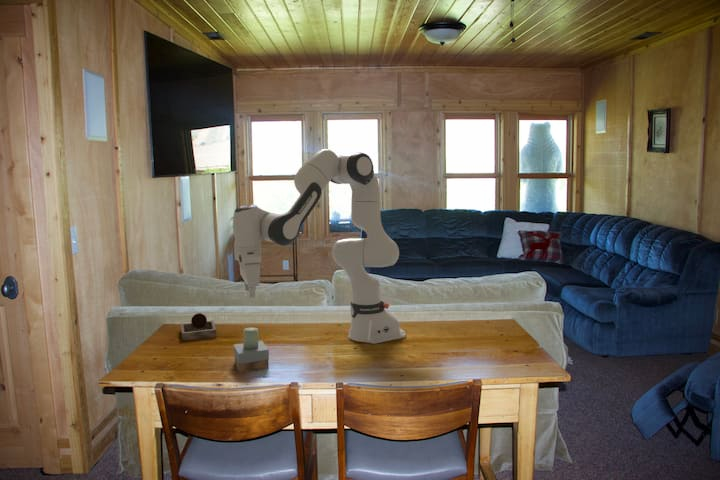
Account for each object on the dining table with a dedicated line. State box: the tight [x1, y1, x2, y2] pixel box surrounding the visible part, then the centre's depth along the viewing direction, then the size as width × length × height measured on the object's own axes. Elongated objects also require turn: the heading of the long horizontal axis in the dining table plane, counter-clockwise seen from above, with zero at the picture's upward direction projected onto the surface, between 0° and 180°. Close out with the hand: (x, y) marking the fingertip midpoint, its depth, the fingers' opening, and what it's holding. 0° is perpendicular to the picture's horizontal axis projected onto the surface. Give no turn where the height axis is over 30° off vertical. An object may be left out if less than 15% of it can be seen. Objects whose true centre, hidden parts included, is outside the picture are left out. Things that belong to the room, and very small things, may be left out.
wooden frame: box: [180, 320, 217, 341], centre depth 232 cm, size 13×13×3 cm
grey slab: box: [233, 340, 270, 364], centre depth 197 cm, size 10×10×4 cm
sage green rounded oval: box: [242, 327, 259, 349], centre depth 196 cm, size 5×5×6 cm
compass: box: [190, 312, 210, 331], centre depth 234 cm, size 8×8×7 cm
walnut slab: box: [234, 356, 270, 373], centre depth 198 cm, size 10×10×4 cm
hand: (249, 293), depth 195 cm, fingers open, 8 cm apart
